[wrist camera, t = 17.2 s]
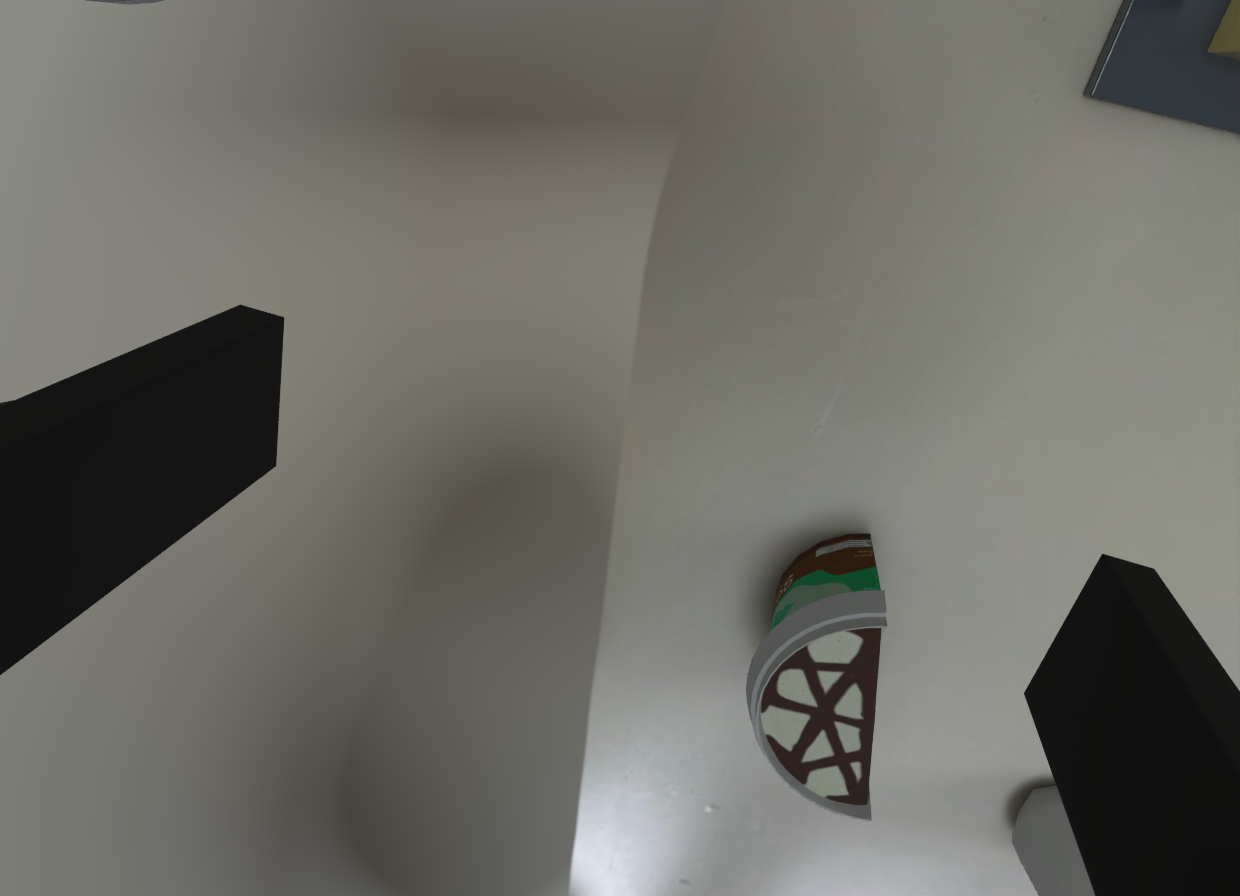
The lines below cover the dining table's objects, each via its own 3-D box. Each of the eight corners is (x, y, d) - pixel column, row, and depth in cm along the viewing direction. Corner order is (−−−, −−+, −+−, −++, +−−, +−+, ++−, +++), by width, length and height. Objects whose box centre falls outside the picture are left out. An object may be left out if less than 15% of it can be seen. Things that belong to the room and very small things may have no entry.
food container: (755, 504, 47) (743, 606, 38) (872, 509, 46) (888, 616, 37) (753, 686, 52) (743, 815, 43) (859, 695, 51) (870, 829, 42)
